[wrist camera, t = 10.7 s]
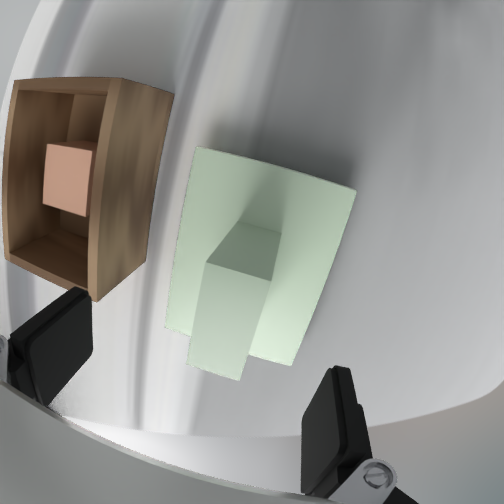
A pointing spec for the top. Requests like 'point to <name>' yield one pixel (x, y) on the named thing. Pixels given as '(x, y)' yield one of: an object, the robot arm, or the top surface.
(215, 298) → the mint green stepped block
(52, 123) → the box
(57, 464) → the robot arm
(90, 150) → the block
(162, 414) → the top surface
